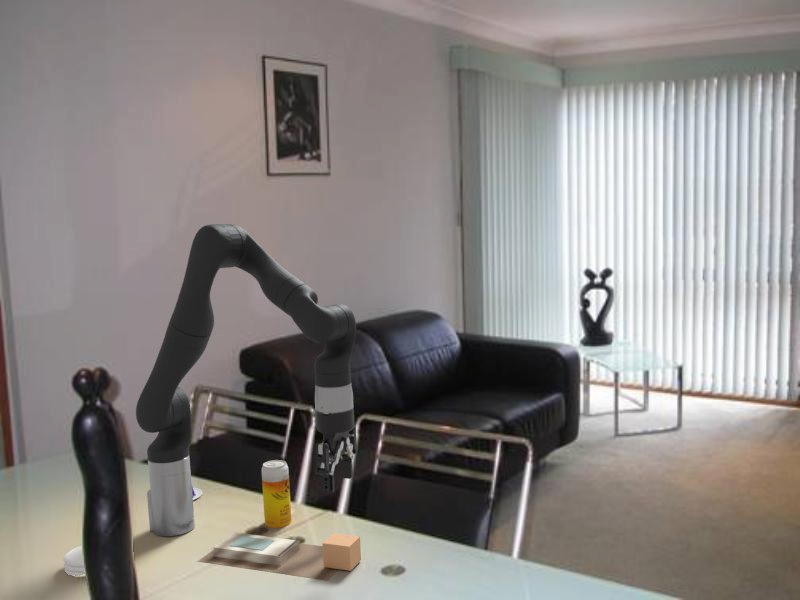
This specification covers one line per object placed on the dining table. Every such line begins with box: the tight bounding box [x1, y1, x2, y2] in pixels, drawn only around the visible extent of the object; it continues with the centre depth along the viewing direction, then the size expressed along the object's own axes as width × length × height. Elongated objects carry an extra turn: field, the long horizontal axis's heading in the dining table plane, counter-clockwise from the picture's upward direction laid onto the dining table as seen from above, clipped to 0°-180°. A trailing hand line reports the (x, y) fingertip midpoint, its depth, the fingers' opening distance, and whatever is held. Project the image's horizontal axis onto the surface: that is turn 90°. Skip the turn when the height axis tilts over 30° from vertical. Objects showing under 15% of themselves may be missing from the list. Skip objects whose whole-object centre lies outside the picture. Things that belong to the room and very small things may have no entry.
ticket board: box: [197, 532, 339, 581], centre depth 175 cm, size 30×14×3 cm, turn 68°
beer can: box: [261, 459, 292, 529], centre depth 192 cm, size 6×6×15 cm
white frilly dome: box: [63, 545, 85, 576], centre depth 176 cm, size 10×10×4 cm
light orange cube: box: [321, 533, 362, 572], centre depth 169 cm, size 6×5×5 cm
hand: (338, 485), depth 167 cm, fingers open, 8 cm apart
